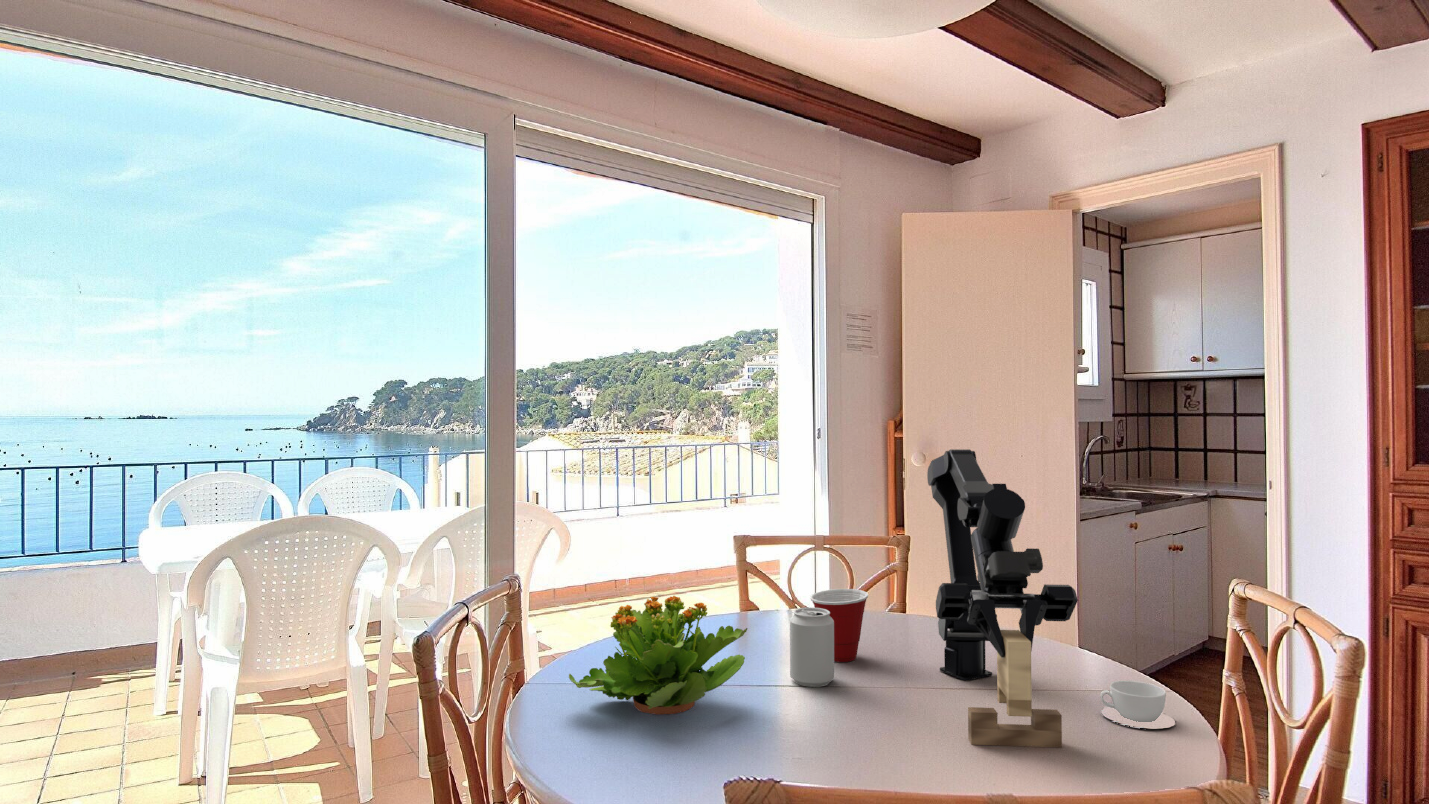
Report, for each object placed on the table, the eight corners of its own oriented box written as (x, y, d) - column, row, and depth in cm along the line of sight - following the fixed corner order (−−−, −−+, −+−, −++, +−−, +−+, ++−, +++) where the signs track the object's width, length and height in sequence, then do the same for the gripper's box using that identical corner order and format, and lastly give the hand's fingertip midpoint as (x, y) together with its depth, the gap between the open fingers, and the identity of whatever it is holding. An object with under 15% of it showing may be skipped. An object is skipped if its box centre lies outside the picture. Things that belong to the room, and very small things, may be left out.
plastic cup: (804, 650, 159) (804, 587, 159) (860, 648, 160) (859, 586, 160) (816, 667, 148) (816, 600, 148) (875, 665, 149) (875, 599, 149)
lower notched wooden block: (971, 744, 113) (971, 712, 113) (968, 738, 115) (968, 707, 115) (1061, 747, 112) (1061, 714, 112) (1057, 741, 114) (1056, 709, 114)
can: (832, 689, 136) (832, 616, 136) (787, 687, 138) (787, 614, 138) (835, 675, 143) (835, 606, 144) (792, 673, 145) (792, 604, 145)
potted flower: (645, 671, 146) (645, 572, 146) (769, 691, 136) (769, 584, 136) (559, 718, 124) (559, 601, 124) (700, 746, 113) (700, 617, 113)
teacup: (1168, 712, 126) (1167, 681, 126) (1183, 736, 116) (1182, 703, 117) (1096, 705, 129) (1096, 675, 129) (1105, 728, 120) (1105, 695, 120)
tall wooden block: (997, 700, 117) (996, 629, 117) (1019, 701, 117) (1018, 630, 117) (1008, 716, 111) (1008, 641, 111) (1031, 716, 111) (1031, 642, 111)
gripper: (938, 527, 119) (954, 623, 108) (1072, 528, 117) (1102, 626, 106) (929, 571, 127) (943, 665, 116) (1055, 572, 125) (1081, 668, 114)
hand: (1016, 656), depth 113 cm, fingers closed on tall wooden block, 3 cm apart
